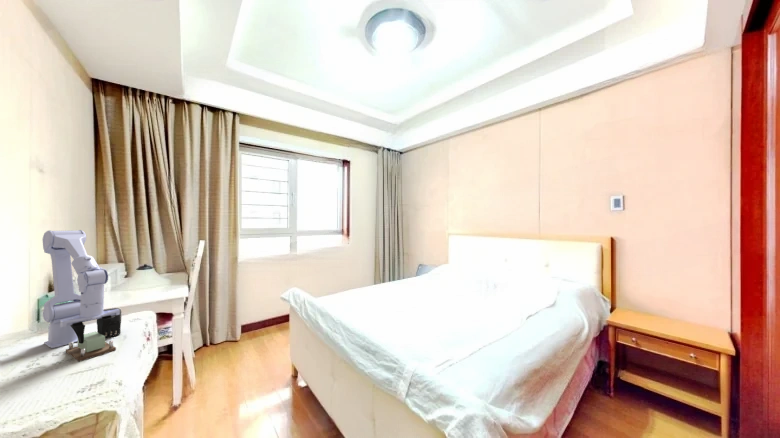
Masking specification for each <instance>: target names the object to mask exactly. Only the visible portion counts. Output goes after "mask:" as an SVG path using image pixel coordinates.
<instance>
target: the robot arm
mask: <svg viewBox="0 0 780 438" xmlns="http://www.w3.org/2000/svg"><path fill="white" fill-rule="evenodd" d="M86 241H87V234H86V232H85V231H84V230H81V229H78V230H77V229H76V230H46V231H45V232H44V233H43V235H42V249H43V252H44V253H46V254H48V255H50V259H51V267H52V277H53V278H52V279H53V290H54V296H53V297H51V298H50V299H48V300H47V301H45V303H44V304H43V311H42V318H43V320H44V322H47V323H49V325H48V333H47V335H48V336H47V340H45V341H44V342H43V344H44V345H46V346H47V347H49V348H50V349H55V348H60V347H63V346H66V345H69V342H73V344H74V343H78V340H79V343H83V342H84V334H85V329H86V328H85V327H86V325H85V324H84V323H85V322H89V321H94V320H97V319H98V321H99V334H101V335H104V334H105V331H106V329H107V327H108V325H109V323H110V322H111V321H112V317H111V316H113V315H120V310H119V309H115V310H109V311H103V309H105V308H104V305H105V304H104V303H105V301H104V300H105V299H104V298H105V285H106V284H107V283H108V281H109V274H108V270H107V269H106V268H103V267H100V266H99V264H98V263H97V261H96V260H95V257H94V256H92V255H88V253H87V250H86V248H85V243H86ZM71 258H72V259H73V260H72V259H71ZM72 268H73V269H74V271H75V273H76V274H77V278H76V282H77V286H78V292H80V294H78V293H76V292H75V287H74V280H73V279H74V277H73V269H72Z"/></svg>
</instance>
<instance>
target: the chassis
mask: <svg viewBox="0 0 780 438" xmlns="http://www.w3.org/2000/svg"><path fill="white" fill-rule="evenodd" d="M116 350H117V347H116V346H114V340H109V342H106V341H105V347H104V348H100V349H97V350H93V351H90V352H85V348H84V349H80V348H78V347H77V346H75V347H74V343H73V342H69V344H68V348H67V349H65V353H66V354H68V356H71V357H72V358H73V359H75V360H77V361H78V362H82V361H86V360H88V359H91V358H95V357H98V356H102V355H104V354H107V353H111V352H115V351H116Z"/></svg>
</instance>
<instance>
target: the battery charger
mask: <svg viewBox="0 0 780 438" xmlns="http://www.w3.org/2000/svg"><path fill="white" fill-rule="evenodd" d="M115 309H119V310H120V315H113V316H111V317H112V321H111V322H110V323H109V325H108V327H107V329H106V331H105V334H104V336H105V339H108V338H112V337H117V336H119V335H120V334H121V332H122V331H121V330H122V329H121V327H122V319H123V318H122V317H123V316H122V315H123V314H122V312H123V311H122V308H120V307H112V308H103V311H109V310H115ZM96 329H97V331H96V332H97V333H99V321H98V319H96Z"/></svg>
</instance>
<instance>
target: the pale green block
mask: <svg viewBox="0 0 780 438" xmlns="http://www.w3.org/2000/svg"><path fill="white" fill-rule="evenodd" d="M105 342H106V338H105V336H104V335H101V334H99V333H97V331H92V332H89V333H84V342H83V343H79V340H78V342H77V346H76V347H78V348H80V349H84V348H85V352H90V351H93V350H97V349H100V348H104V347H105Z"/></svg>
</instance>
